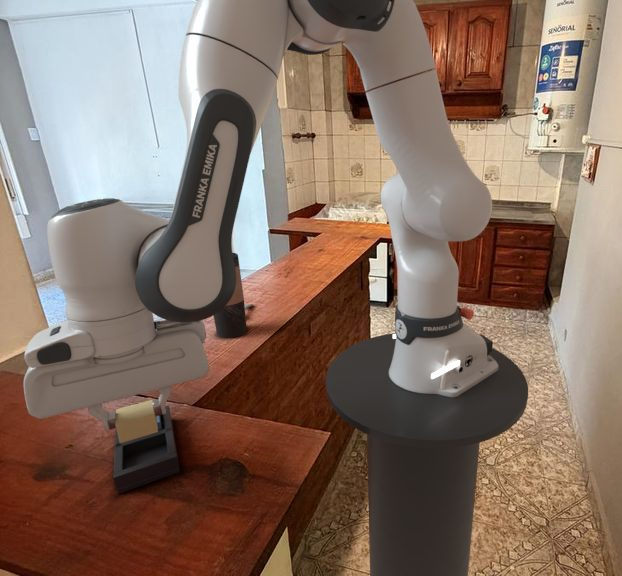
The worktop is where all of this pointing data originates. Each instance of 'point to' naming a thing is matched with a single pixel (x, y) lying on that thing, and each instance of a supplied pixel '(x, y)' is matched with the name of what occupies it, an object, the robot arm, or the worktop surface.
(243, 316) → the travel mug
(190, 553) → the worktop surface
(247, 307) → the spoon
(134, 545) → the worktop surface
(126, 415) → the pad beige
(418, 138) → the robot arm
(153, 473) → the backing frame
